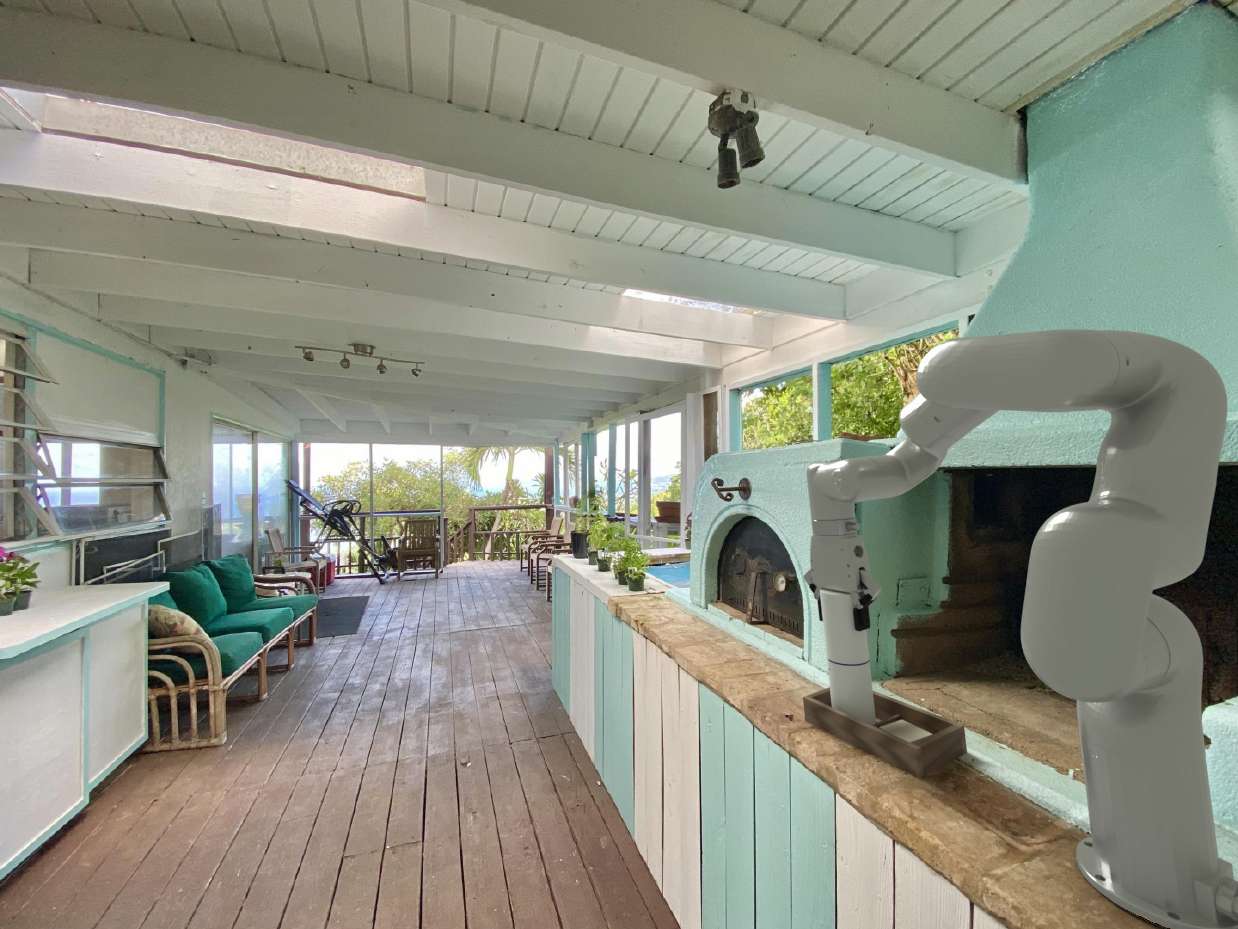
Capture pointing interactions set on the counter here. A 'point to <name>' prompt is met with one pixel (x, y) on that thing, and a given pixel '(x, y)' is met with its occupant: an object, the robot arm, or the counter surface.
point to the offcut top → (906, 731)
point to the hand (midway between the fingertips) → (844, 623)
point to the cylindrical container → (847, 657)
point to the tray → (886, 746)
